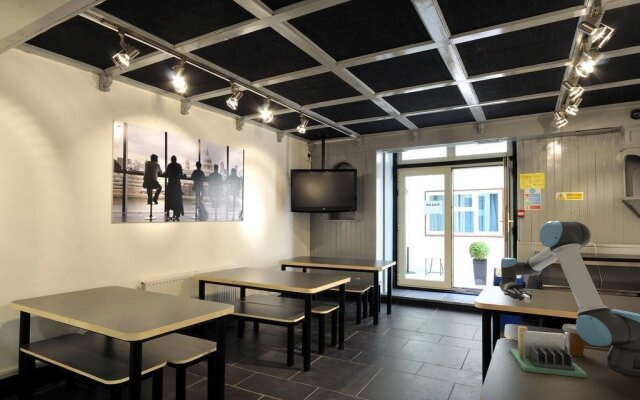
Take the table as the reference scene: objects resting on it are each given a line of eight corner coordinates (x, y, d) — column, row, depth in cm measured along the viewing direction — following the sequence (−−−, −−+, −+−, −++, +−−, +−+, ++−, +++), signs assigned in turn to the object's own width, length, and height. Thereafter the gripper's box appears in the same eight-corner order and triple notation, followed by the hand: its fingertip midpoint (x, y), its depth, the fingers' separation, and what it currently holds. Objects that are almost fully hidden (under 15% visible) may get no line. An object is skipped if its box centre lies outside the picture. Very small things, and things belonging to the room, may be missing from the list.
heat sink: (568, 360, 157) (568, 329, 157) (580, 371, 146) (580, 338, 147) (517, 356, 161) (517, 325, 162) (525, 366, 151) (525, 333, 151)
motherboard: (563, 356, 166) (563, 353, 166) (586, 377, 144) (586, 373, 144) (508, 351, 171) (508, 348, 171) (523, 370, 149) (523, 367, 149)
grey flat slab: (562, 360, 157) (562, 333, 157) (564, 361, 155) (564, 334, 156) (523, 356, 160) (523, 330, 160) (524, 358, 158) (524, 331, 159)
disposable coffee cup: (591, 358, 164) (591, 330, 165) (567, 356, 166) (567, 329, 167) (581, 350, 174) (581, 324, 174) (558, 349, 176) (558, 323, 176)
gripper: (527, 298, 192) (544, 309, 169) (500, 296, 195) (512, 307, 172) (527, 283, 193) (544, 292, 170) (500, 282, 196) (512, 290, 173)
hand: (528, 299), depth 171 cm, fingers closed
